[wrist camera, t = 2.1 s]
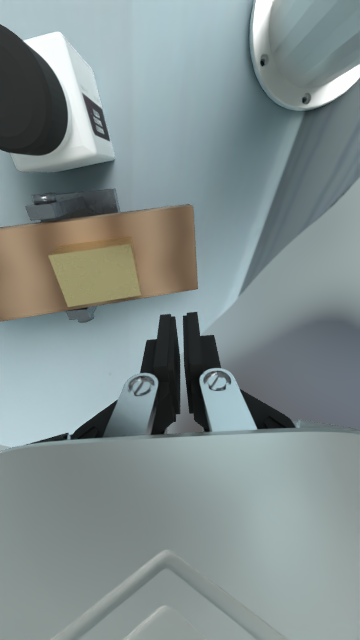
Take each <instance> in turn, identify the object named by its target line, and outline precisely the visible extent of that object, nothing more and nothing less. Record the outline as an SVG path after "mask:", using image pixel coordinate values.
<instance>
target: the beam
mask: <svg viewBox="0 0 360 640" xmlns="http://www.w3.org/2000/svg"><path fill="white" fill-rule="evenodd" d="M127 236H131V242H132V247H133V252H134V257H135V262H136V267H137V272H138V278H139V283H140V292H141V295H139V296H133V297H127V298H121V299H115V300H109V301H103V302H96V303H90V304H84V305H78V306H72V307H68V306H67V303H66V300H65V298H64V295H63V293H62V290H61V288H60V285H59V282H58V280H57V277H56V275H55V272H54V269H53V267H52V264H51V262H50V259H49V256H48V255H49V254H50V253H51V252H52V251H53V250H54V249H56V248H57V247H58V246H60V245H68V244H75V243H82V242H90V241H97V240H105V239H112V238H120V237H127ZM195 289H198V282H197V264H196V247H195V229H194V212H193V206H192V205H190V204H186V205H178V206H170V207H161V208H153V209H145V210H137V211H129V212H121V213H113V214H105V215H97V216H88V217H80V218H72V219H64V220H56V221H48V222H40V223H32V224H24V225H16V226H7V227H0V321H6V320H12V319H18V318H24V317H31V316H37V315H43V314H49V313H55V312H61V311H67V310H73V309H79V308H85V307H92V306H98V305H104V304H110V303H116V302H122V301H128V300H134V299H140V298H146V297H152V296H159V295H165V294H171V293H177V292H183V291H189V290H195Z"/></svg>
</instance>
